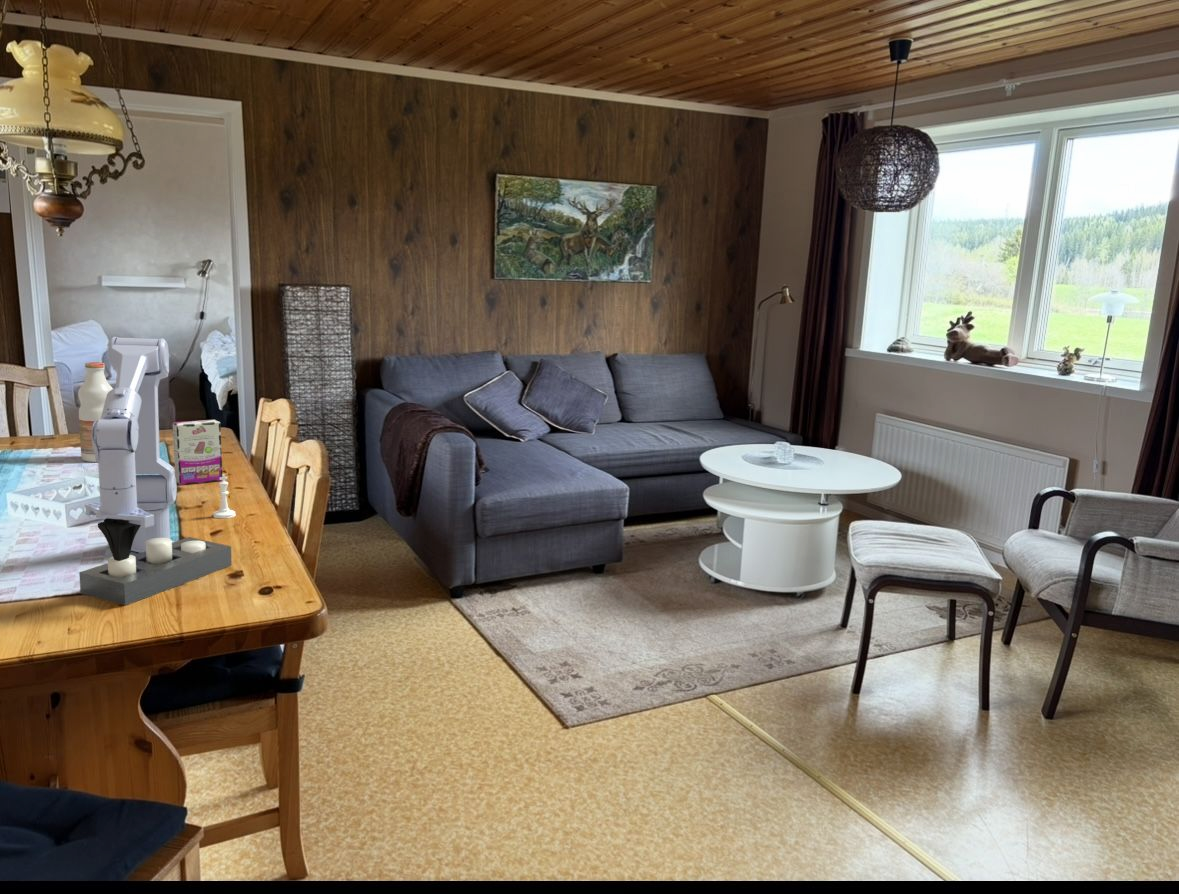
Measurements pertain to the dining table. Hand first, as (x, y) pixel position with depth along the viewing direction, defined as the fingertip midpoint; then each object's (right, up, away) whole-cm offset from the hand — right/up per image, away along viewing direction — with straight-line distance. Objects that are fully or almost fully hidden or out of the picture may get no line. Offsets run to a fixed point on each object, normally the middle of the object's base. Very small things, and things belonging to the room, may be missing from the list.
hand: (121, 559), depth 155 cm
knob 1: (0, -4, +1) cm, 4 cm away
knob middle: (+3, -2, +8) cm, 9 cm away
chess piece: (-3, +4, +50) cm, 50 cm away
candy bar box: (-22, +11, +79) cm, 82 cm away
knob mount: (+3, -5, +9) cm, 10 cm away
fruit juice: (-59, +16, +96) cm, 114 cm away
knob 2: (+6, -3, +16) cm, 17 cm away
